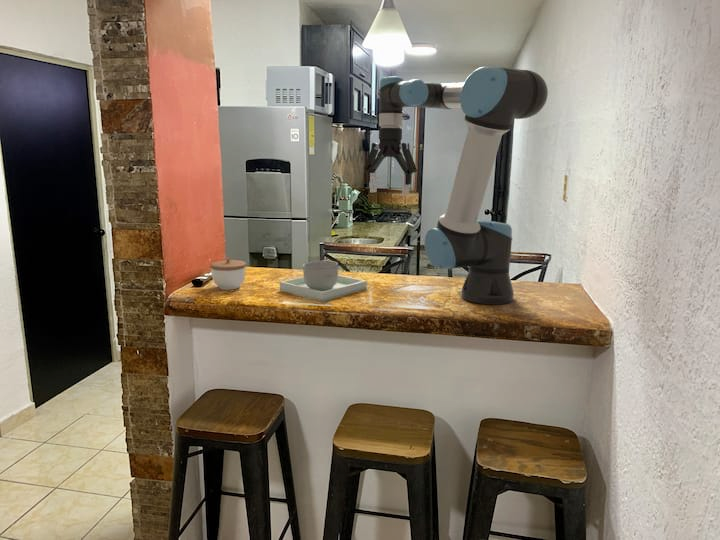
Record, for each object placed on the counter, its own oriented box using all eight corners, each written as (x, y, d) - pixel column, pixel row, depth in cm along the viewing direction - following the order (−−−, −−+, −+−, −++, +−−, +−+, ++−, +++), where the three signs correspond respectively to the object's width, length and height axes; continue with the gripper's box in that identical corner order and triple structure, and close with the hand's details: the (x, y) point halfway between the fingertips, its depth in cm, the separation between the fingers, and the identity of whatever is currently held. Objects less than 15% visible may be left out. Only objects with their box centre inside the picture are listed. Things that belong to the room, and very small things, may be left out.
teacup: (330, 294, 159) (330, 268, 157) (296, 290, 163) (296, 265, 161) (346, 283, 172) (346, 259, 170) (315, 280, 175) (315, 256, 174)
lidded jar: (242, 292, 164) (240, 262, 162) (207, 291, 164) (205, 261, 162) (250, 283, 174) (249, 255, 172) (217, 283, 175) (215, 254, 172)
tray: (366, 289, 168) (366, 280, 168) (322, 302, 154) (322, 292, 153) (324, 279, 180) (324, 271, 180) (279, 290, 166) (279, 281, 165)
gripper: (429, 127, 168) (426, 195, 173) (368, 128, 184) (367, 190, 189) (415, 126, 163) (413, 196, 167) (354, 127, 179) (353, 191, 183)
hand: (389, 193), depth 178 cm, fingers open, 13 cm apart
